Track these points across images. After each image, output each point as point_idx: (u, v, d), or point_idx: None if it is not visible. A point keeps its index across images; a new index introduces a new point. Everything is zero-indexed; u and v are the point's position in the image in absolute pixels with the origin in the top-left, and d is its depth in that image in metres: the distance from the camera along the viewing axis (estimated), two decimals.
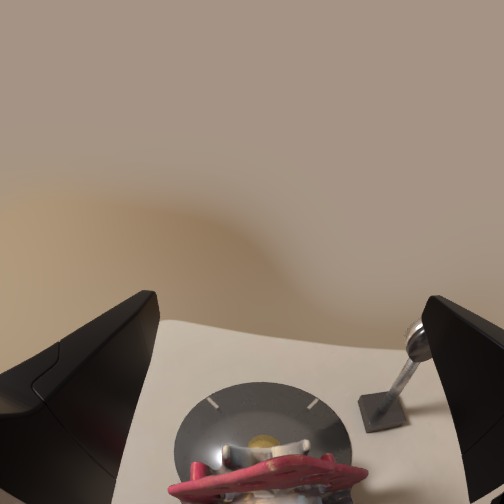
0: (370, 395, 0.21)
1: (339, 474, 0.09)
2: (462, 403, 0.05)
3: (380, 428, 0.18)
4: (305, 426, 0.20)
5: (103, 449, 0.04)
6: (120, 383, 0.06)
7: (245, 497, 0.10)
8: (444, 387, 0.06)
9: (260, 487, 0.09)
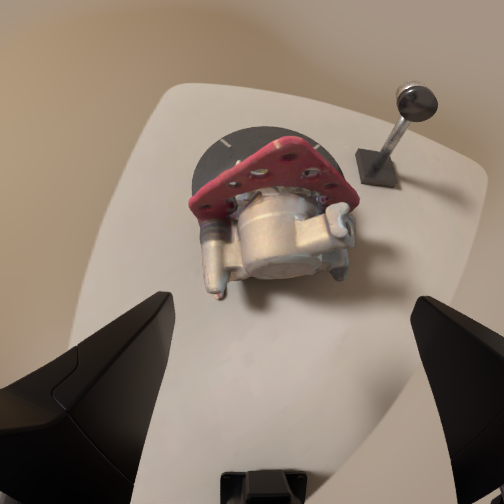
0: (366, 150, 0.25)
1: (333, 179, 0.15)
2: (451, 407, 0.05)
3: (374, 182, 0.24)
4: None
5: (123, 455, 0.04)
6: (139, 387, 0.06)
7: (255, 199, 0.17)
8: (433, 390, 0.06)
9: (267, 182, 0.15)
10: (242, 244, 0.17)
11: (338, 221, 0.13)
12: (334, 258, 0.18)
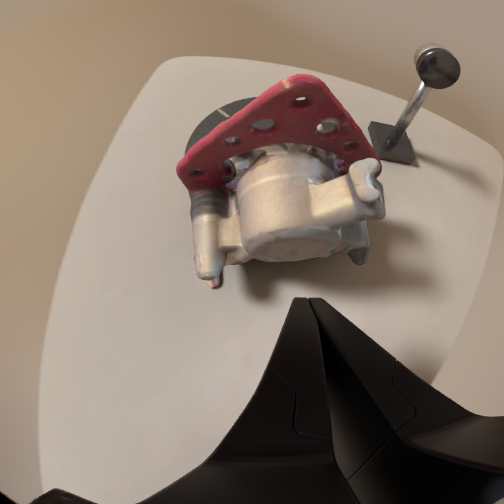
0: (380, 124, 0.21)
1: (354, 136, 0.11)
2: None
3: (390, 157, 0.21)
4: None
5: None
6: None
7: (257, 161, 0.13)
8: None
9: (273, 138, 0.12)
10: (241, 216, 0.13)
11: (367, 180, 0.09)
12: (354, 237, 0.15)
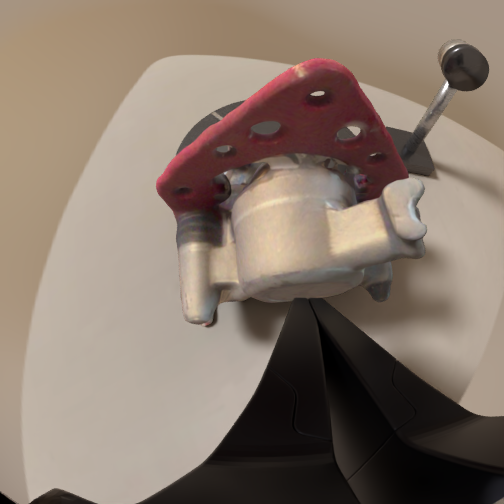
0: (396, 130, 0.19)
1: (384, 145, 0.09)
2: None
3: (407, 168, 0.18)
4: None
5: None
6: None
7: (258, 177, 0.10)
8: None
9: (280, 147, 0.09)
10: (238, 249, 0.10)
11: (409, 210, 0.07)
12: (375, 269, 0.12)
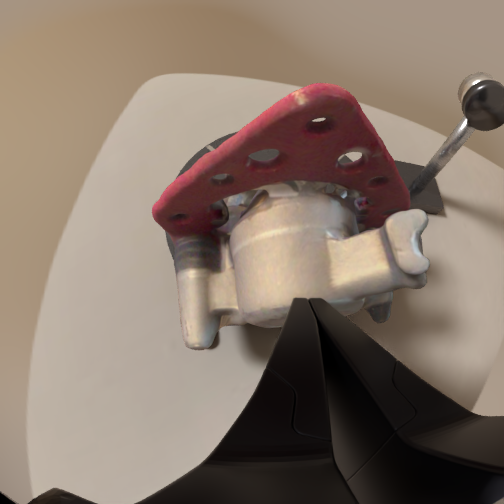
0: (405, 163, 0.18)
1: (386, 169, 0.08)
2: None
3: (415, 208, 0.17)
4: (329, 184, 0.18)
5: None
6: None
7: (257, 204, 0.10)
8: None
9: (279, 174, 0.09)
10: (237, 278, 0.10)
11: (413, 244, 0.06)
12: None
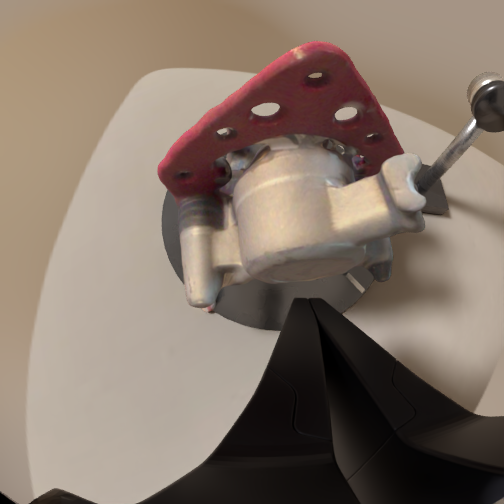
0: None
1: (380, 125, 0.09)
2: None
3: None
4: None
5: None
6: None
7: (258, 158, 0.10)
8: None
9: (279, 128, 0.09)
10: (240, 229, 0.10)
11: (408, 183, 0.07)
12: (376, 249, 0.12)
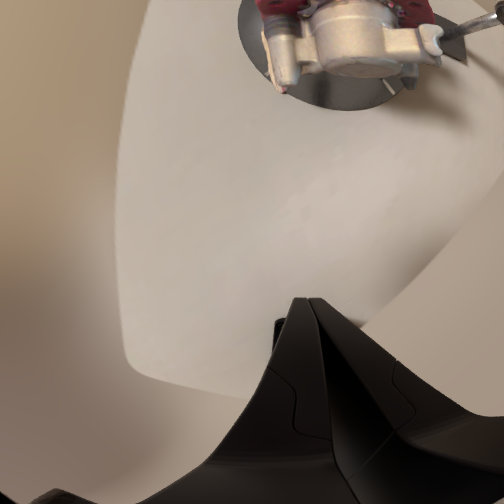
0: (439, 16, 0.12)
1: (421, 0, 0.07)
2: None
3: None
4: None
5: None
6: None
7: (335, 0, 0.09)
8: None
9: None
10: (322, 40, 0.11)
11: (433, 41, 0.08)
12: (407, 68, 0.13)
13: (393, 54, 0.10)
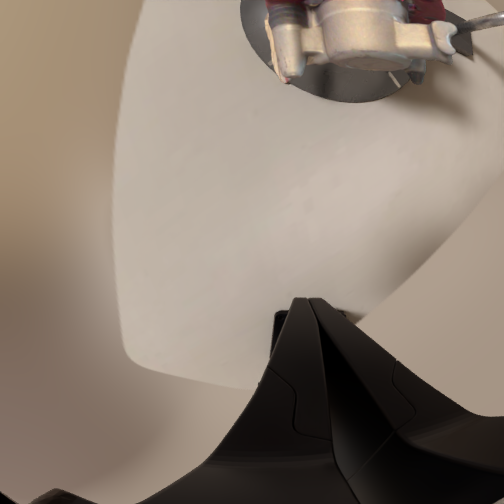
0: (446, 11, 0.11)
1: None
2: None
3: None
4: None
5: None
6: None
7: None
8: None
9: None
10: (330, 31, 0.10)
11: (447, 38, 0.07)
12: (414, 62, 0.12)
13: (404, 49, 0.09)
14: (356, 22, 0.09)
